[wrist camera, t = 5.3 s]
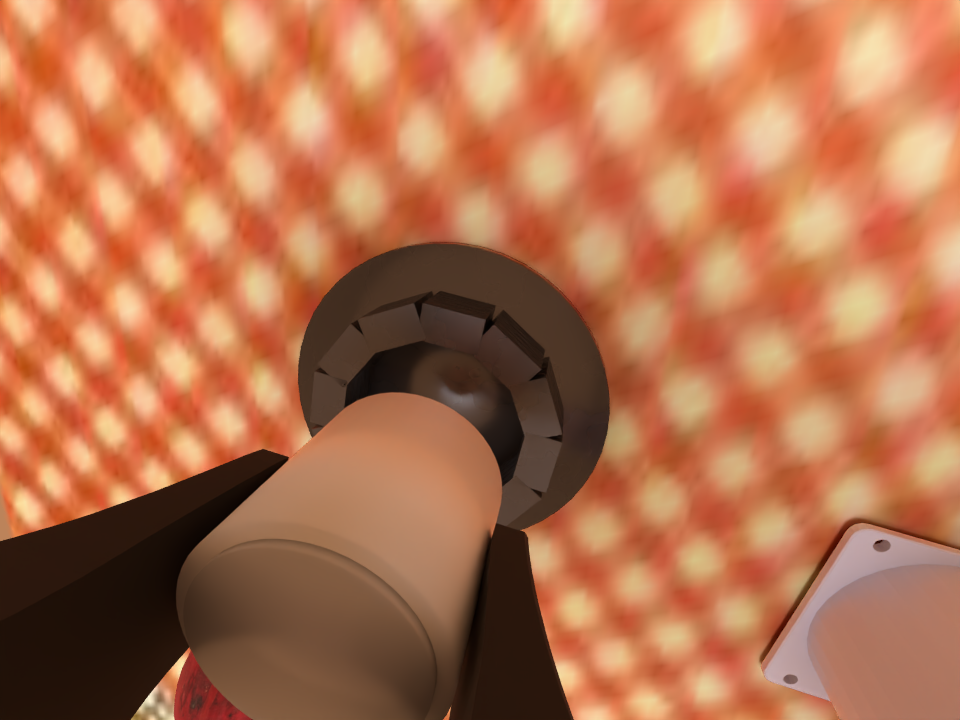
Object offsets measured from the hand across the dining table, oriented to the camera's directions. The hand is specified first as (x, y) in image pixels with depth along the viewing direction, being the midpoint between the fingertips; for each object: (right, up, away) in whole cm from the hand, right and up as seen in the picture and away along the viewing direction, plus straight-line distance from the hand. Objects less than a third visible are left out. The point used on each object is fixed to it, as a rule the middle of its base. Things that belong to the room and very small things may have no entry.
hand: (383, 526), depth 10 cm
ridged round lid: (+1, +2, +8) cm, 8 cm away
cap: (0, +1, +1) cm, 2 cm away
